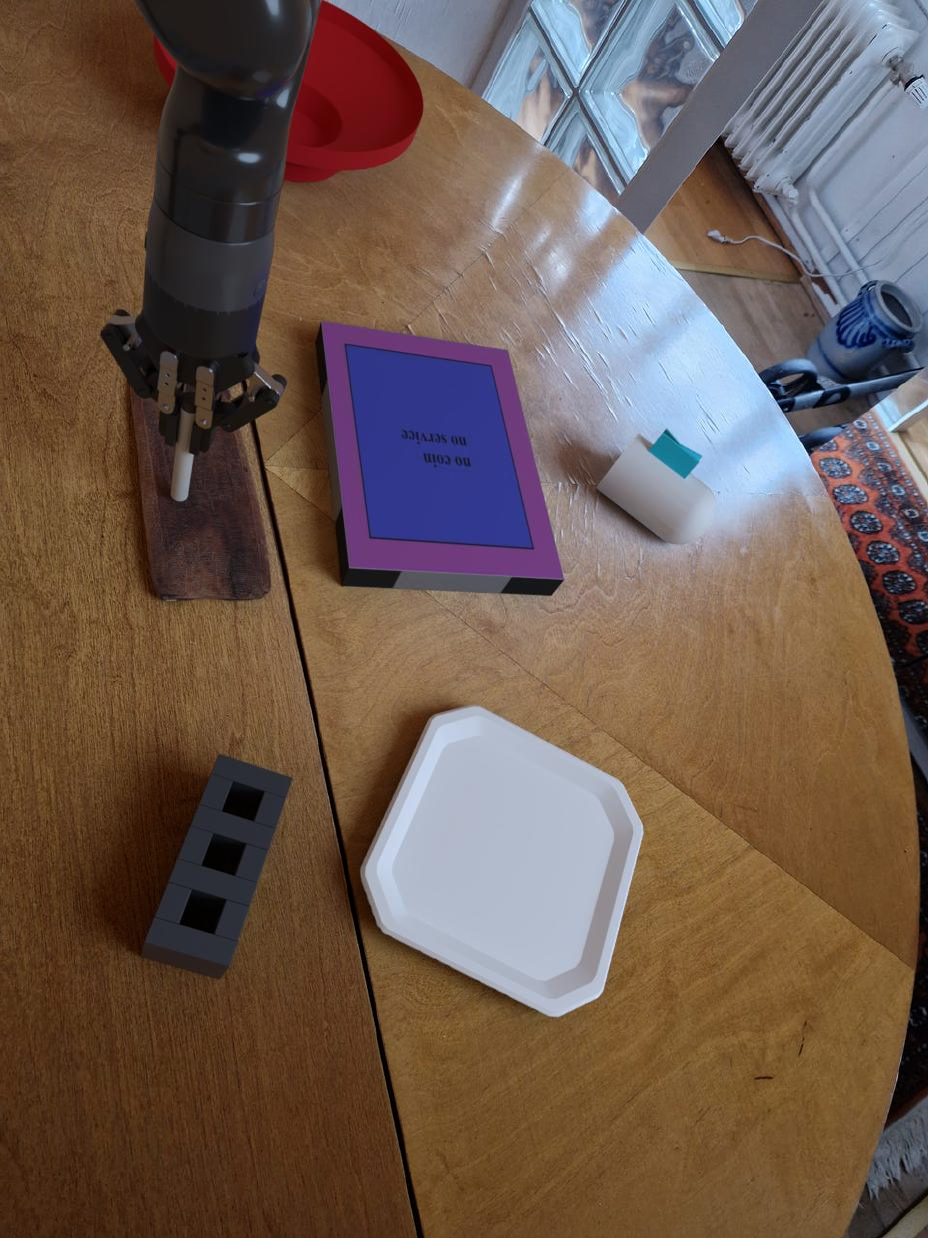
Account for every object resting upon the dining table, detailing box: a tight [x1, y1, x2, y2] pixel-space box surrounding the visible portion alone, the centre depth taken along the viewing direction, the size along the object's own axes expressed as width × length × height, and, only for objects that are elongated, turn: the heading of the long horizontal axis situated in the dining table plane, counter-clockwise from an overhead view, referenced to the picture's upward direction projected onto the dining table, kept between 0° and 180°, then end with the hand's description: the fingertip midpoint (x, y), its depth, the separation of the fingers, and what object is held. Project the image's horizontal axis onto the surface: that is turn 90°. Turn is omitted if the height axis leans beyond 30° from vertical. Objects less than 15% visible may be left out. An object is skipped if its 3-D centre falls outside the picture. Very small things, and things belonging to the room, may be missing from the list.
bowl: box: [152, 0, 425, 183], centre depth 105 cm, size 30×30×10 cm
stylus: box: [171, 391, 197, 501], centre depth 71 cm, size 1×1×12 cm
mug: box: [596, 427, 717, 546], centre depth 96 cm, size 12×9×12 cm
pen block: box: [140, 753, 293, 980], centre depth 62 cm, size 13×6×5 cm, turn 168°
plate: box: [359, 704, 644, 1018], centre depth 71 cm, size 21×21×2 cm
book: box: [314, 320, 565, 597], centre depth 89 cm, size 21×3×30 cm
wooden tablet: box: [129, 367, 272, 603], centre depth 79 cm, size 26×2×10 cm
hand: (185, 442), depth 70 cm, fingers closed on stylus, 1 cm apart
